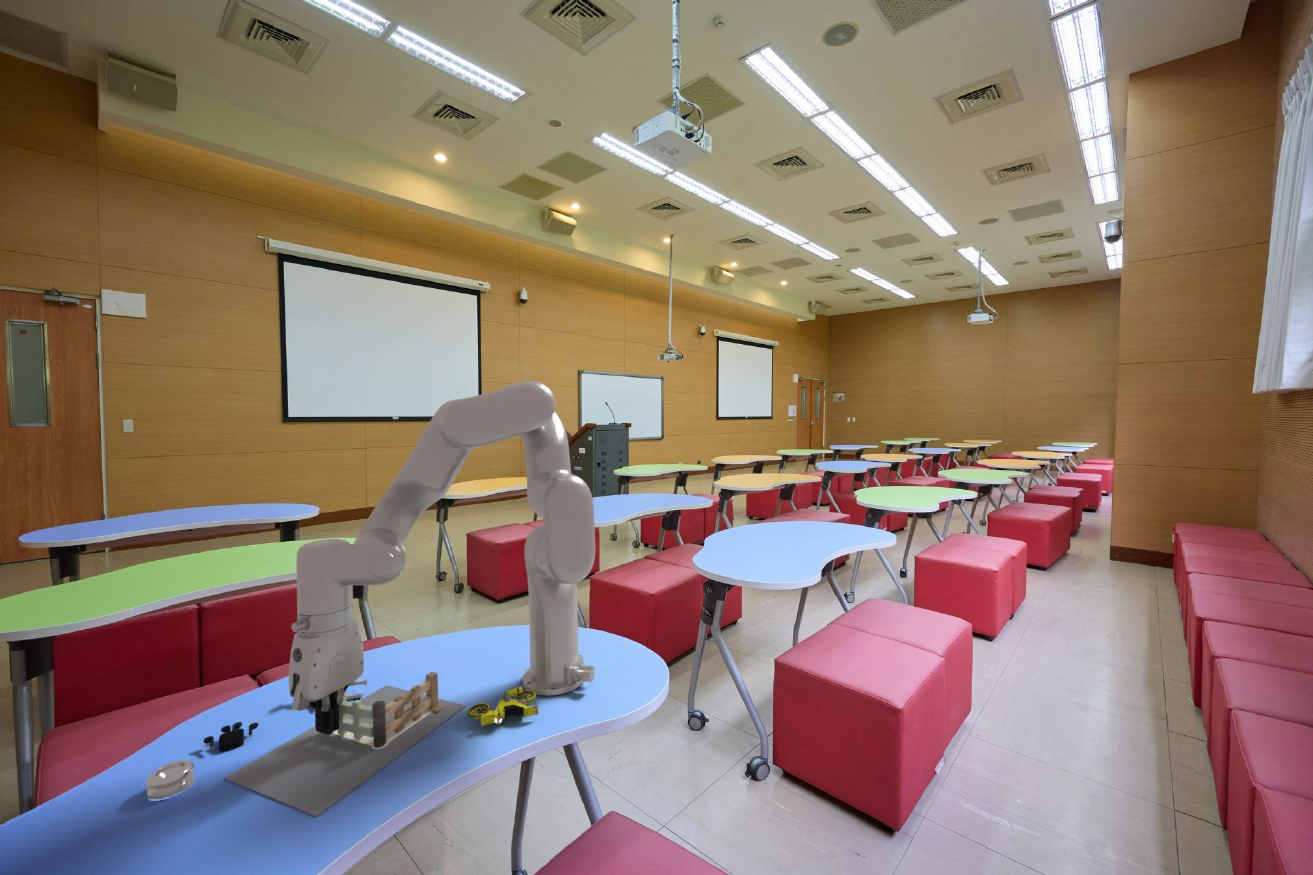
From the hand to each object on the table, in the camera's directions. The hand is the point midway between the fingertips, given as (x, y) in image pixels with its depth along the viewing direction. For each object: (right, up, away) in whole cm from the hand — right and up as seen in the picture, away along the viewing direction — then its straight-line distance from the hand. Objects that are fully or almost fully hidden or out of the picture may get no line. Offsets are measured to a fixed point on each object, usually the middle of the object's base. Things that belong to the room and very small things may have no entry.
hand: (327, 730), depth 84 cm
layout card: (+4, -3, +2) cm, 5 cm away
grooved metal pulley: (-17, -4, -9) cm, 20 cm away
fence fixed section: (+10, -3, +6) cm, 12 cm away
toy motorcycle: (+26, -3, +8) cm, 28 cm away
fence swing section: (+2, -2, +2) cm, 4 cm away
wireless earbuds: (-17, -3, +2) cm, 17 cm away
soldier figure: (-8, -3, +14) cm, 17 cm away
